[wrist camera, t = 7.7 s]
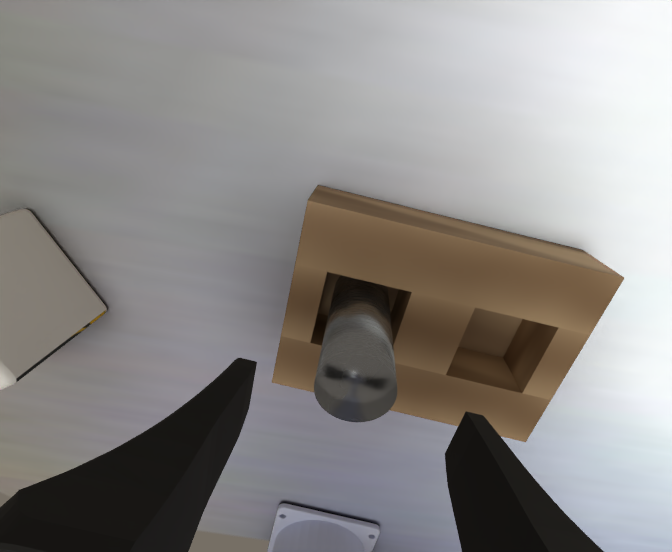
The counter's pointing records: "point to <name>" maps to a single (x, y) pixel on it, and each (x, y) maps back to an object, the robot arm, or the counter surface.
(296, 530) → the robot arm
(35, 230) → the medicine bottle
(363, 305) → the steel pin
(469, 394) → the hole block
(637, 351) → the counter surface
